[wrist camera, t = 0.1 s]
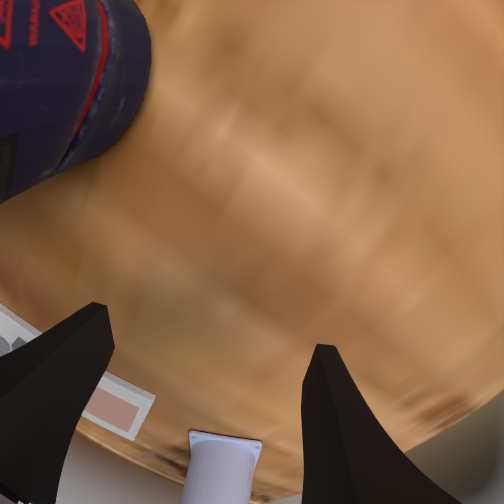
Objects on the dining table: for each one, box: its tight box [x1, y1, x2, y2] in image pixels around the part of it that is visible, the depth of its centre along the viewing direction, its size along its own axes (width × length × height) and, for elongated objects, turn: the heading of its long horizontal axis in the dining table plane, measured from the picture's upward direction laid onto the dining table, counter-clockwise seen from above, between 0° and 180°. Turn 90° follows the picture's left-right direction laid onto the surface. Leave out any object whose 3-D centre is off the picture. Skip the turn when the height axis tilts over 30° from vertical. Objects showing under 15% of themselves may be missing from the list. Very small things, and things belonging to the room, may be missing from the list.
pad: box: [84, 387, 139, 432], centre depth 29 cm, size 7×7×1 cm
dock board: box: [0, 303, 156, 441], centre depth 28 cm, size 22×12×2 cm, turn 63°
